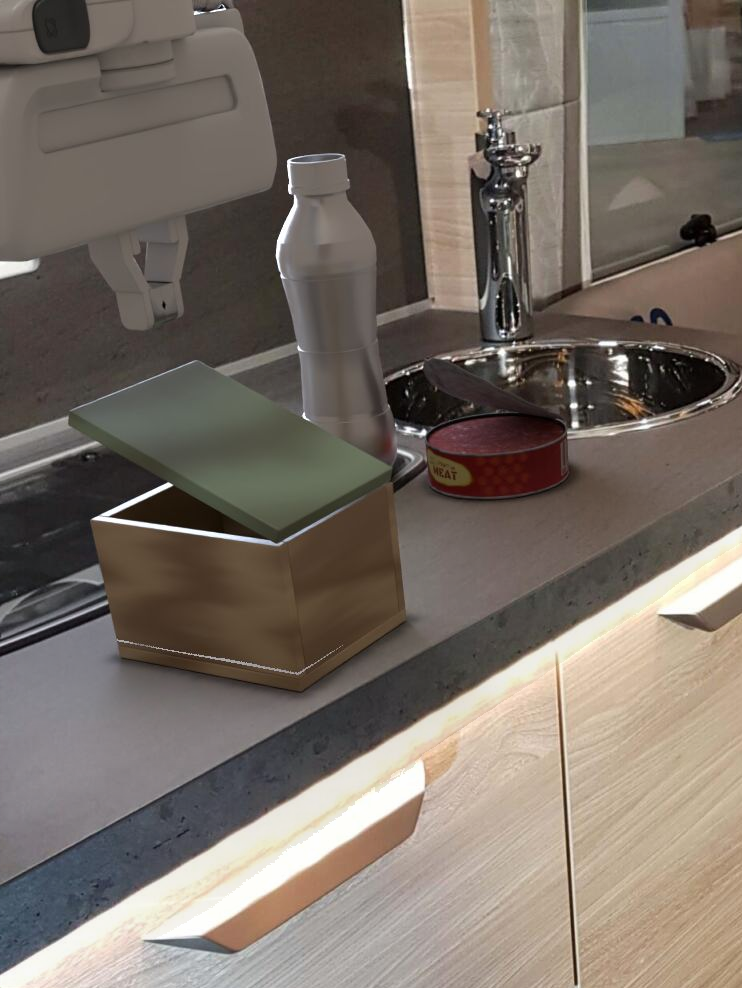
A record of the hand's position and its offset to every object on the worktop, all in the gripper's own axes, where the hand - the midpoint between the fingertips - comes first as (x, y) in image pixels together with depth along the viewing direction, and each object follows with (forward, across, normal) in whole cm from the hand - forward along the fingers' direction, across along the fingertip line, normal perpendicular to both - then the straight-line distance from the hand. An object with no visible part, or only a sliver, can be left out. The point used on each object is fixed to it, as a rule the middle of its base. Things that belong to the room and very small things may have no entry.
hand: (154, 323), depth 79 cm
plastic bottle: (+16, -26, -8) cm, 32 cm away
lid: (+6, 0, +4) cm, 7 cm away
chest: (+16, 0, +4) cm, 17 cm away
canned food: (+16, -30, +2) cm, 34 cm away
